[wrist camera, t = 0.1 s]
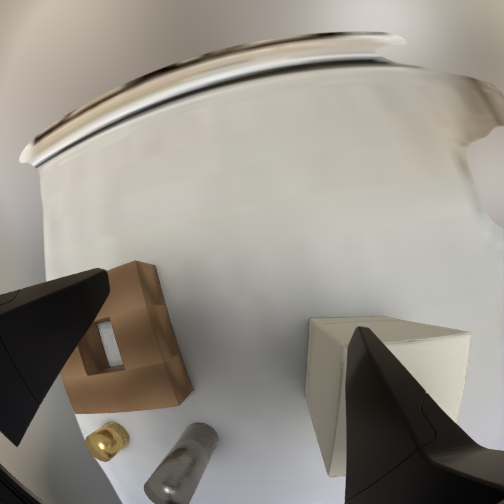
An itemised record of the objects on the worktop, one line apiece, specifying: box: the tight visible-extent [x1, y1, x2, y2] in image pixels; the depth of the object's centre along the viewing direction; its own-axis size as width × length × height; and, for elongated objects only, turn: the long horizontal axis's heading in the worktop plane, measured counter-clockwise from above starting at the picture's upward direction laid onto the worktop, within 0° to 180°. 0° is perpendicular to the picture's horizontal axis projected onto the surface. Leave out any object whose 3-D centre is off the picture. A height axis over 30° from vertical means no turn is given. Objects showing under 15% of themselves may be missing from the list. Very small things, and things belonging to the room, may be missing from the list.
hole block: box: [60, 261, 193, 414], centre depth 22 cm, size 12×12×4 cm
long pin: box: [144, 423, 218, 504], centre depth 17 cm, size 3×3×10 cm
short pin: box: [85, 422, 129, 462], centre depth 21 cm, size 3×3×4 cm
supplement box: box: [305, 317, 472, 477], centre depth 16 cm, size 7×7×13 cm
